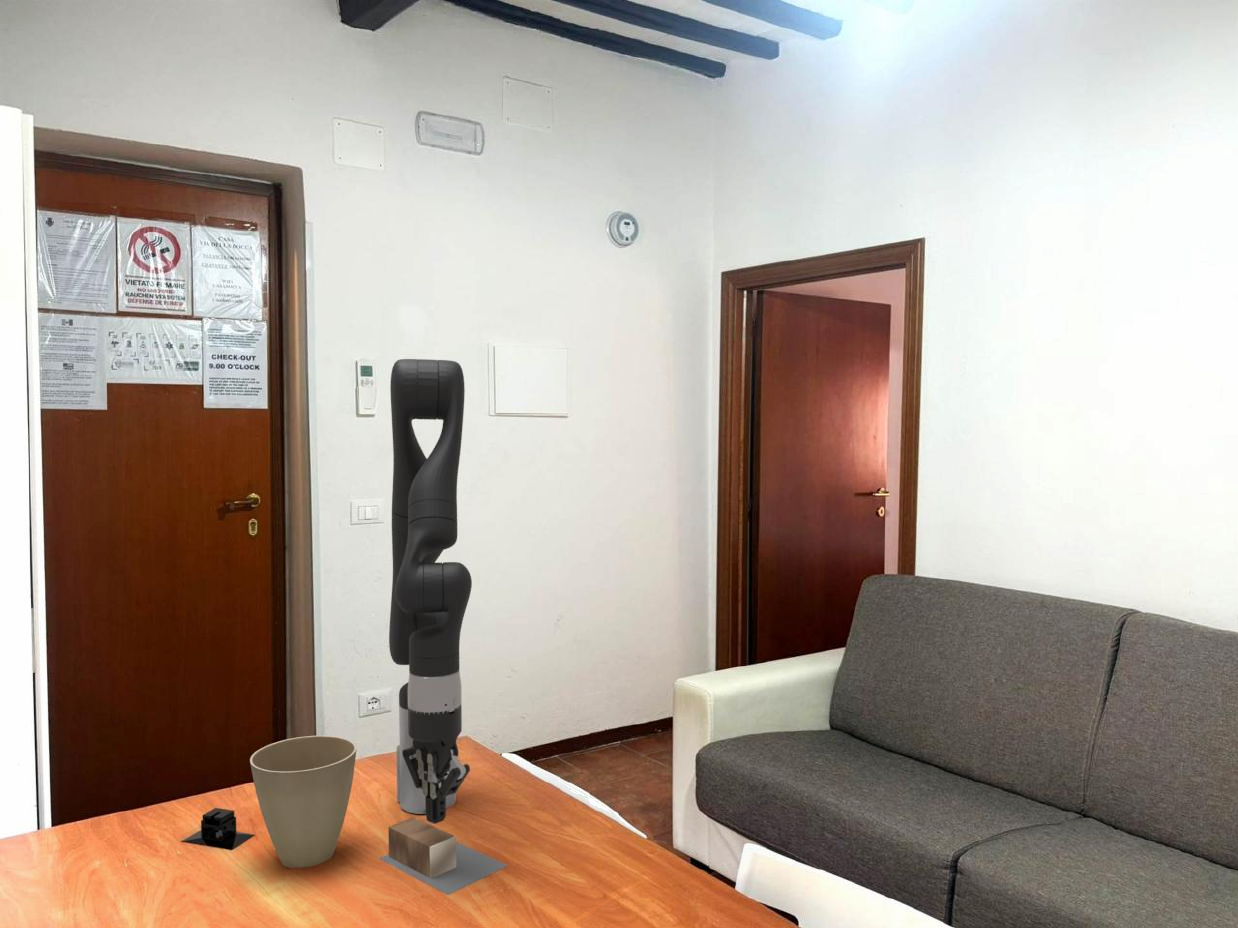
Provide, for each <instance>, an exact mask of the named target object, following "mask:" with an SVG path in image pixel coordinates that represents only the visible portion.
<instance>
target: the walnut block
mask: <svg viewBox="0 0 1238 928" xmlns="http://www.w3.org/2000/svg"><path fill="white" fill-rule="evenodd" d="M456 842H457V836H455V835H453V834H451V833H448V832H446V831H445V830H442V829H440V828H438V827H435V826H433V825H431V824H429V823H427V822H425V821H423V820H420V819H418V818H416V817H411V818H408V819H406V820H403V821H401V822H398V823H395V824H392V825H390V826H388V854H389V857H390V858H392V859H394V860H396V861H398V862H400V863H402V864H404V865H406V866H408V867H410V868H411V869H413V870H415V871H417V872H419V873H421V874H423V875H425V876H427V877H429V878H431V879H432V878H434V877H436V876H438V875H440V874H443V873H445V872H447V871H449V870H451V869H454V868H456Z"/></svg>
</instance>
